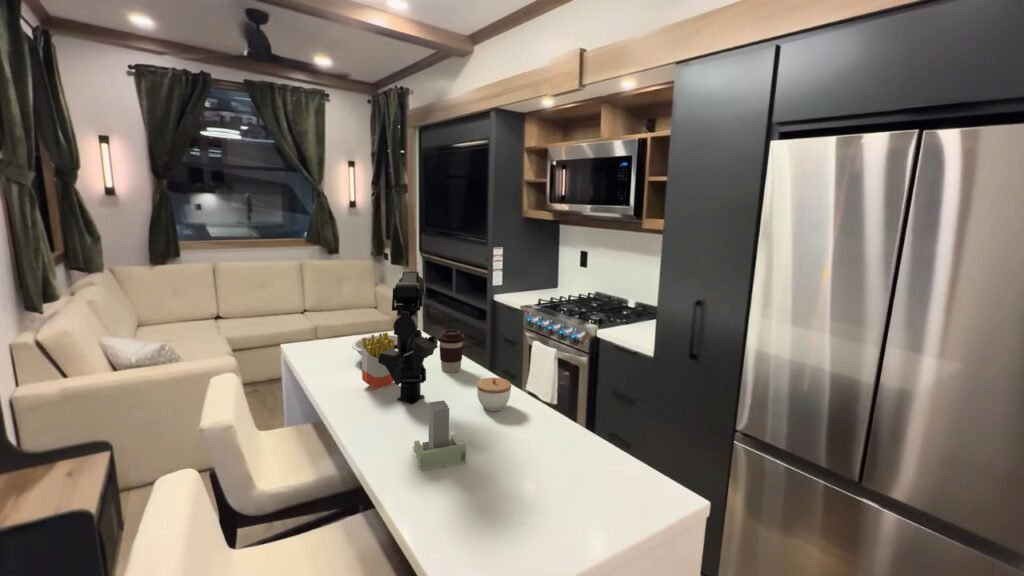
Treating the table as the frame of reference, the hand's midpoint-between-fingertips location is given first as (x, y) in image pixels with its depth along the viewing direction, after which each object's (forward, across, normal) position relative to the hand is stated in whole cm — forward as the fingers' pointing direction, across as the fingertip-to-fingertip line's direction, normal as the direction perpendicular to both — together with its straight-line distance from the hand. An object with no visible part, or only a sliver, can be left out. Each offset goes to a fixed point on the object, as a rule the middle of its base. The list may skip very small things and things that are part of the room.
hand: (407, 379), depth 136 cm
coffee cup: (+13, +41, +11) cm, 44 cm away
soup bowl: (+13, +38, +41) cm, 57 cm away
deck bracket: (+12, -12, -19) cm, 26 cm away
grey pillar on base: (+12, -12, -19) cm, 25 cm away
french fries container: (+13, +16, +24) cm, 32 cm away
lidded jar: (+13, +20, -18) cm, 30 cm away
